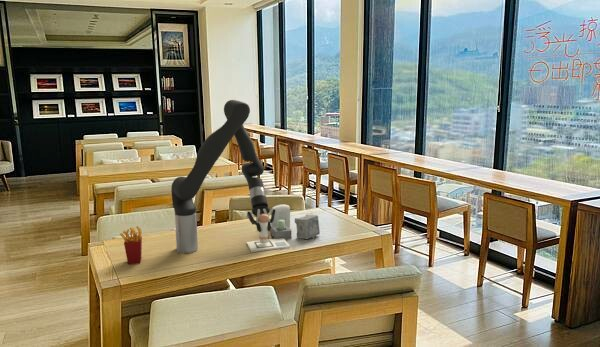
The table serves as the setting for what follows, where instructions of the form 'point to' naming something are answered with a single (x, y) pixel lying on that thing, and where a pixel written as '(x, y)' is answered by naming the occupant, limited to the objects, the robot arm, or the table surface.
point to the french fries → (133, 245)
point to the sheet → (268, 245)
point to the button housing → (281, 232)
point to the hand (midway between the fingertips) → (264, 231)
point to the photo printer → (281, 215)
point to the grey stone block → (307, 226)
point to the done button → (281, 224)
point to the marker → (263, 228)
